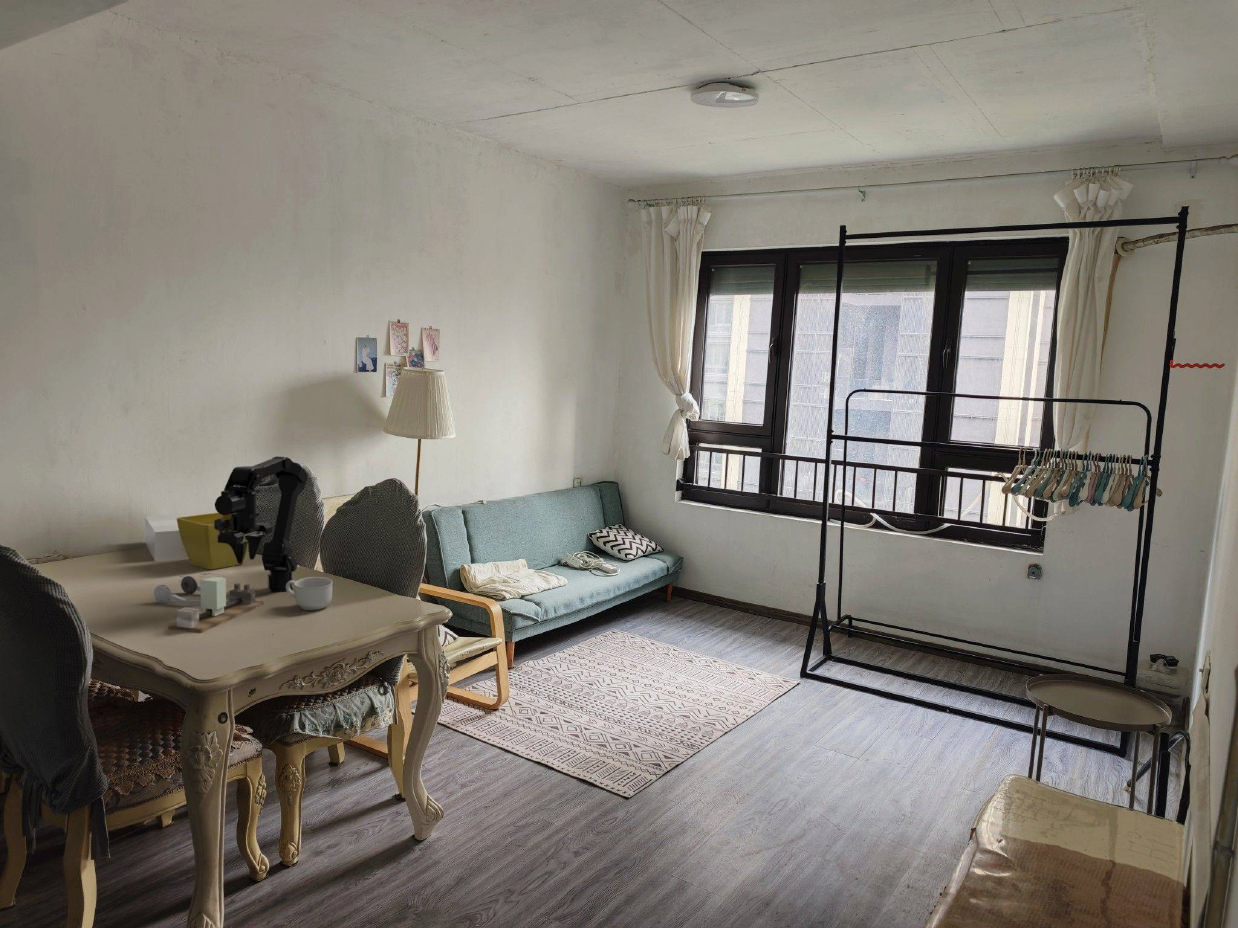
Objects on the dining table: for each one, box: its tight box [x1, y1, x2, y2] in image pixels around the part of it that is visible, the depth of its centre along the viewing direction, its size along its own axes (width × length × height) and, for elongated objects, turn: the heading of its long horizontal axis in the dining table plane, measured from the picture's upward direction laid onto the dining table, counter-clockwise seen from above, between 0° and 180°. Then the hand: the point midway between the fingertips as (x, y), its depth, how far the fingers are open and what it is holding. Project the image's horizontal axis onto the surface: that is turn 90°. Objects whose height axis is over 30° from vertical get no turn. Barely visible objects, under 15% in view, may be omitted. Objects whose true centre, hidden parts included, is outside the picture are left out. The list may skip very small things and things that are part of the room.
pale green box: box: [200, 576, 227, 616], centre depth 238 cm, size 4×5×10 cm
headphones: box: [153, 575, 201, 607], centre depth 257 cm, size 17×6×20 cm
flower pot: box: [177, 512, 249, 570], centre depth 298 cm, size 19×19×17 cm
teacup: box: [286, 576, 333, 611], centre depth 254 cm, size 14×11×8 cm
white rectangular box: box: [144, 514, 189, 562], centre depth 315 cm, size 32×11×11 cm, turn 35°
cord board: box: [167, 582, 264, 634], centre depth 241 cm, size 28×10×6 cm, turn 170°
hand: (246, 561), depth 252 cm, fingers open, 5 cm apart
